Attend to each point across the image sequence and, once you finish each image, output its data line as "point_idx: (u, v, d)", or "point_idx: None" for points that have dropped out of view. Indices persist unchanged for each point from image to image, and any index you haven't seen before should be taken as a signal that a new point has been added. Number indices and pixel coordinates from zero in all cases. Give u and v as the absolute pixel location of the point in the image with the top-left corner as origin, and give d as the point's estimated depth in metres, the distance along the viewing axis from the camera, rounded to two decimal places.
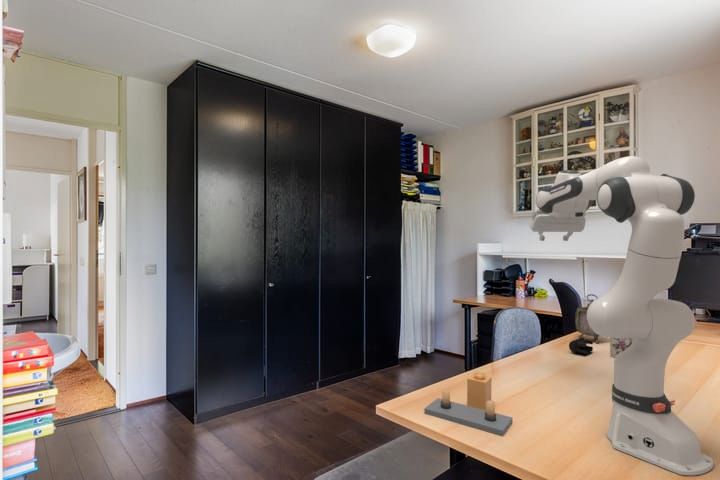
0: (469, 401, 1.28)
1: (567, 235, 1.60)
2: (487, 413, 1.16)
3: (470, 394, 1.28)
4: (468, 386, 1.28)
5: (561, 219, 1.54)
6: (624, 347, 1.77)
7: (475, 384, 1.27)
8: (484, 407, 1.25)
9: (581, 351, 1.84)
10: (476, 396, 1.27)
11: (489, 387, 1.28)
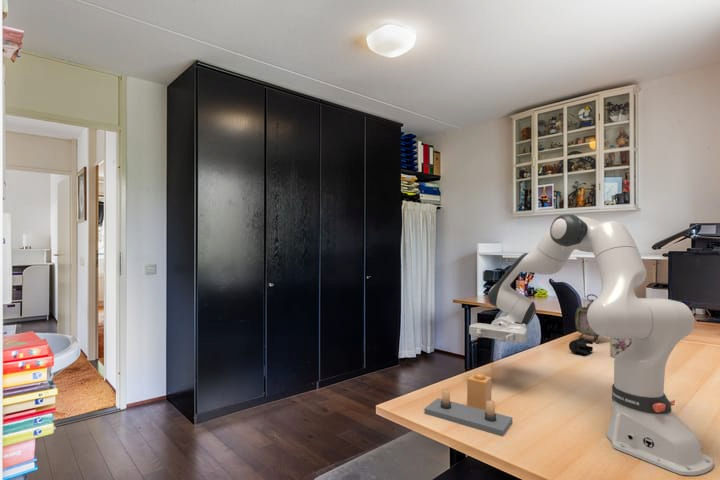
0: (469, 401, 1.28)
1: None
2: (487, 413, 1.16)
3: (470, 394, 1.28)
4: (468, 386, 1.28)
5: (499, 322, 1.48)
6: (624, 347, 1.77)
7: (475, 384, 1.27)
8: (484, 407, 1.25)
9: (581, 351, 1.84)
10: (476, 396, 1.27)
11: (489, 387, 1.28)
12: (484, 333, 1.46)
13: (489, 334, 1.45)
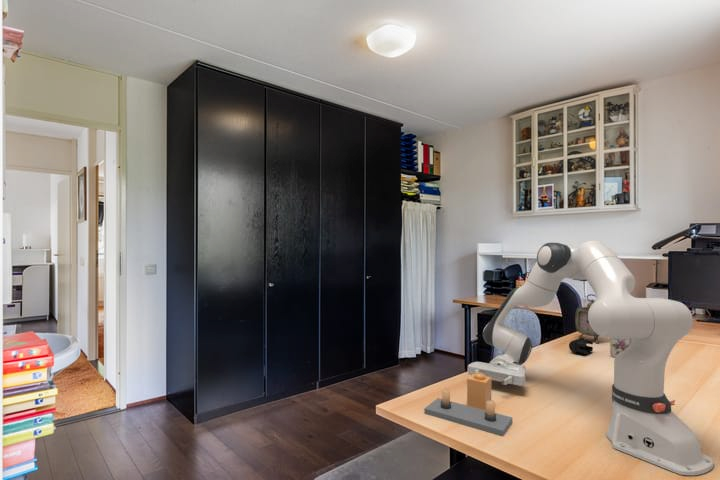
0: (469, 401, 1.28)
1: None
2: (487, 413, 1.16)
3: (470, 394, 1.28)
4: (468, 386, 1.28)
5: (498, 362, 1.47)
6: (624, 347, 1.77)
7: (475, 384, 1.27)
8: (484, 407, 1.25)
9: (581, 351, 1.84)
10: (476, 396, 1.27)
11: (489, 387, 1.28)
12: None
13: (488, 375, 1.44)
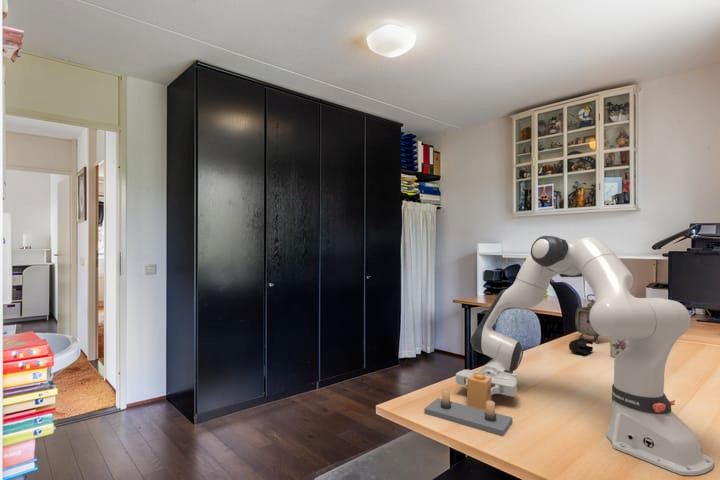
0: (469, 401, 1.28)
1: None
2: (487, 413, 1.16)
3: (470, 394, 1.28)
4: (468, 386, 1.28)
5: (488, 370, 1.37)
6: (624, 347, 1.77)
7: (475, 384, 1.27)
8: (484, 407, 1.25)
9: (581, 351, 1.84)
10: (476, 396, 1.27)
11: None
12: None
13: None
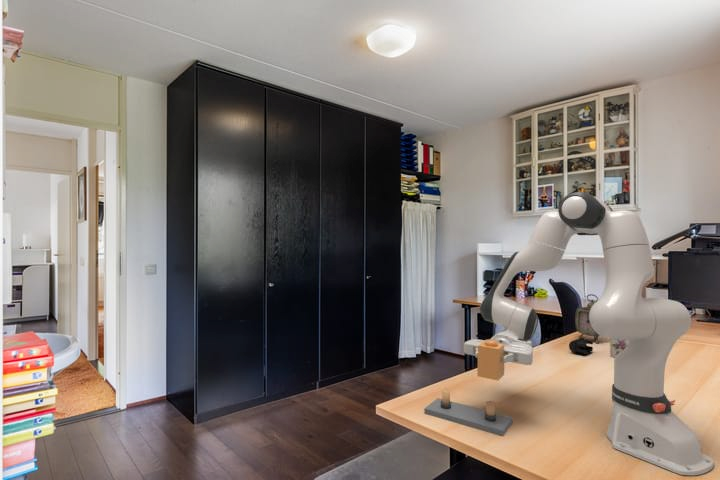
0: (480, 370, 1.15)
1: None
2: (487, 413, 1.16)
3: (481, 362, 1.15)
4: (478, 354, 1.15)
5: (500, 339, 1.24)
6: (624, 347, 1.77)
7: (486, 351, 1.14)
8: (497, 376, 1.12)
9: (581, 351, 1.84)
10: (488, 364, 1.13)
11: None
12: None
13: None
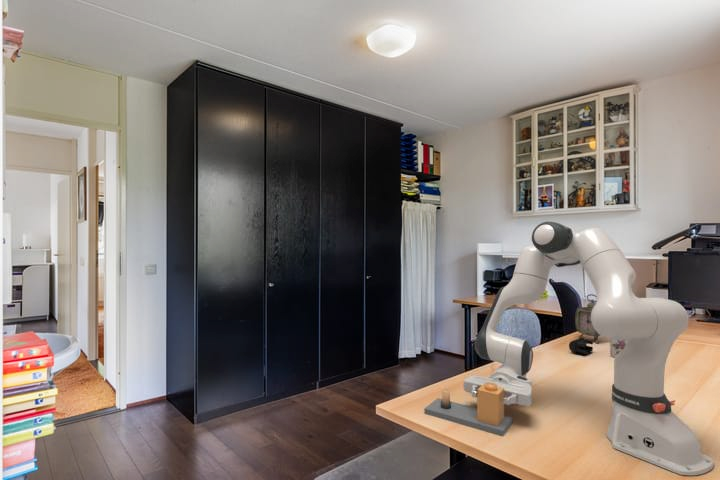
0: (479, 415, 1.15)
1: None
2: None
3: (480, 407, 1.15)
4: (478, 398, 1.15)
5: (499, 376, 1.24)
6: None
7: (486, 396, 1.14)
8: (496, 422, 1.12)
9: (581, 351, 1.84)
10: (488, 409, 1.14)
11: (502, 399, 1.15)
12: None
13: None
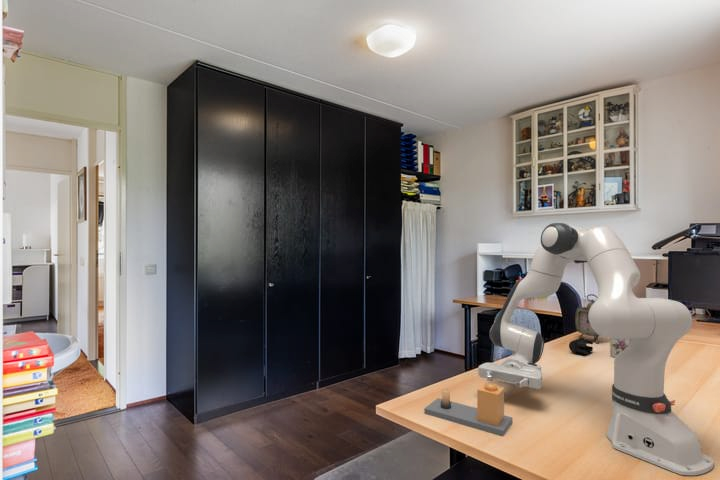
0: (479, 415, 1.15)
1: None
2: None
3: (481, 407, 1.15)
4: (478, 398, 1.15)
5: (511, 363, 1.35)
6: (624, 347, 1.77)
7: (486, 396, 1.14)
8: (496, 422, 1.12)
9: (581, 351, 1.84)
10: (488, 409, 1.14)
11: (502, 399, 1.15)
12: (495, 375, 1.33)
13: (500, 377, 1.32)
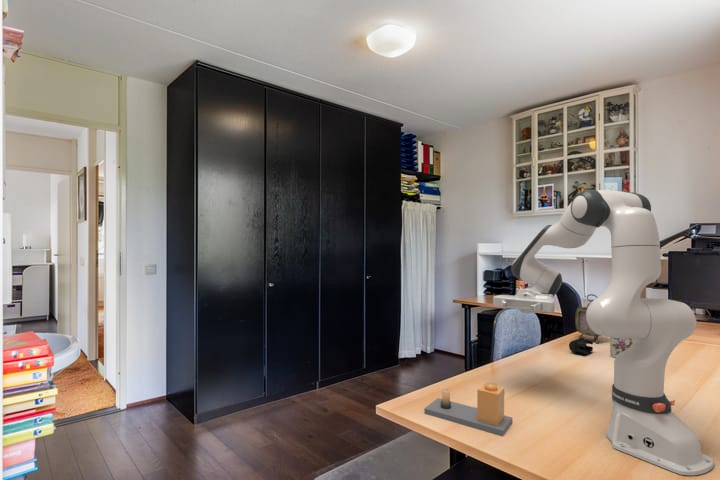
0: (479, 415, 1.15)
1: None
2: None
3: (481, 407, 1.15)
4: (478, 398, 1.15)
5: (525, 293, 1.42)
6: (624, 347, 1.77)
7: (486, 396, 1.14)
8: (496, 422, 1.12)
9: (581, 351, 1.84)
10: (488, 409, 1.14)
11: (502, 399, 1.15)
12: (509, 304, 1.40)
13: (515, 305, 1.39)
